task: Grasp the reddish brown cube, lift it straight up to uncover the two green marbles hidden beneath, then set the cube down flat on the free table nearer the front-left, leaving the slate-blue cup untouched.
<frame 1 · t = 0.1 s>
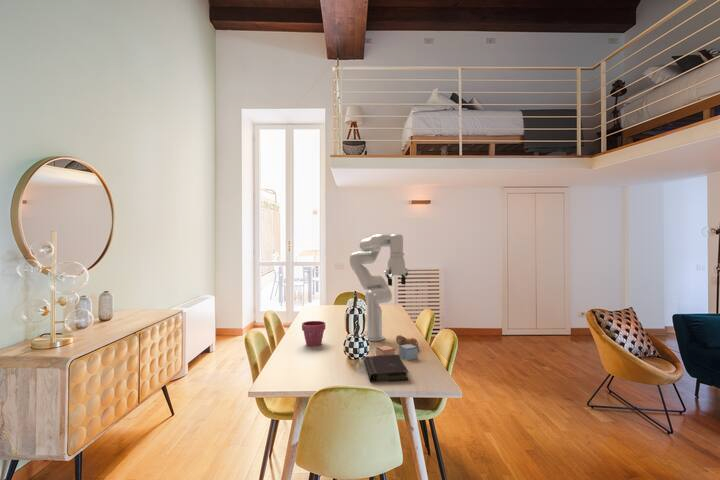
hand: (396, 284, 226), 37 cm above the table, tool pointing down, fingers open, 9 cm apart
cup slate: (408, 357, 208), on the table
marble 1: (382, 359, 206), on the table
lion figurine: (407, 350, 222), on the table
plant pot: (313, 344, 235), on the table
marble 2: (388, 359, 205), on the table
diary: (385, 373, 186), on the table
marble 3: (408, 354, 208), in the cup slate
reddish brown cube: (385, 359, 205), on the table
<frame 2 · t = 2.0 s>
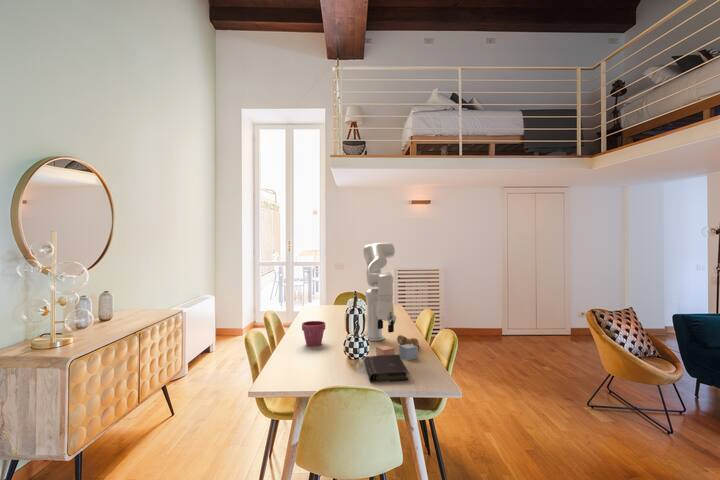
hand: (385, 330, 205), 15 cm above the table, tool pointing down, fingers open, 9 cm apart
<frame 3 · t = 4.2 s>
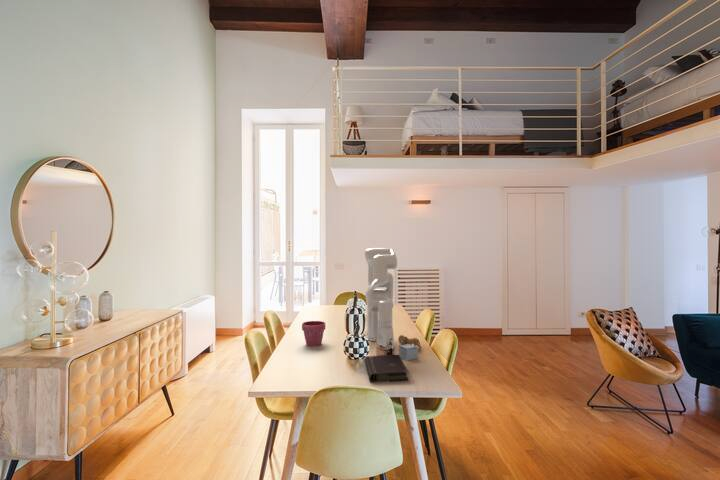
hand: (385, 357, 205), 1 cm above the table, tool pointing down, fingers closed on reddish brown cube, 7 cm apart
reddish brown cube: (385, 359, 205), on the table, touching gripper
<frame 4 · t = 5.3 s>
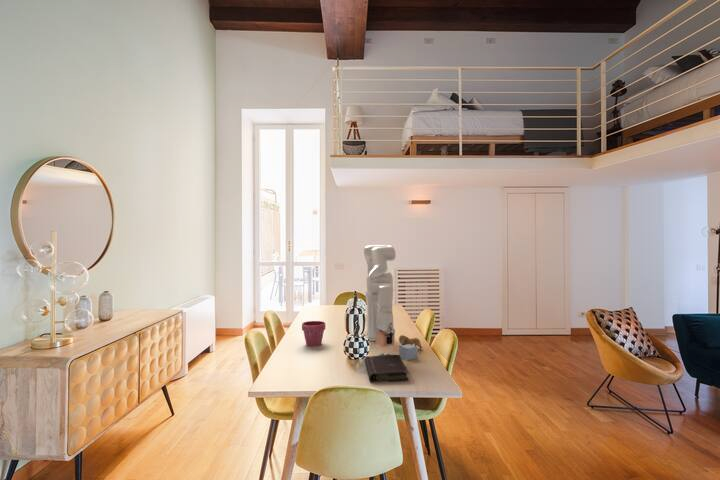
hand: (385, 341, 206), 9 cm above the table, tool pointing down, fingers closed on reddish brown cube, 7 cm apart
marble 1: (382, 358, 206), on the table, tilted 21°
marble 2: (388, 358, 205), on the table, tilted 47°
reddish brown cube: (385, 343, 206), point 8 cm above the table, touching gripper
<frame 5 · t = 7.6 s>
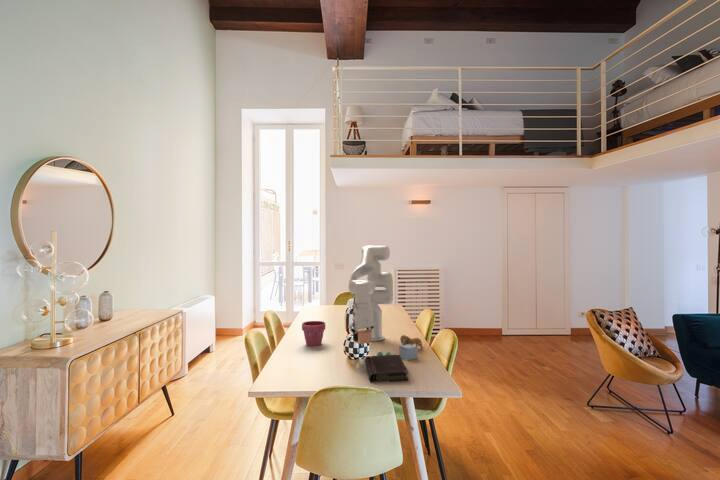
hand: (362, 339, 202), 11 cm above the table, tool pointing down, fingers closed on reddish brown cube, 7 cm apart
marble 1: (380, 351, 209), point 3 cm above the table, tilted 157°
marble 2: (389, 351, 210), point 3 cm above the table, tilted 163°
reddish brown cube: (362, 341, 202), point 10 cm above the table, touching gripper
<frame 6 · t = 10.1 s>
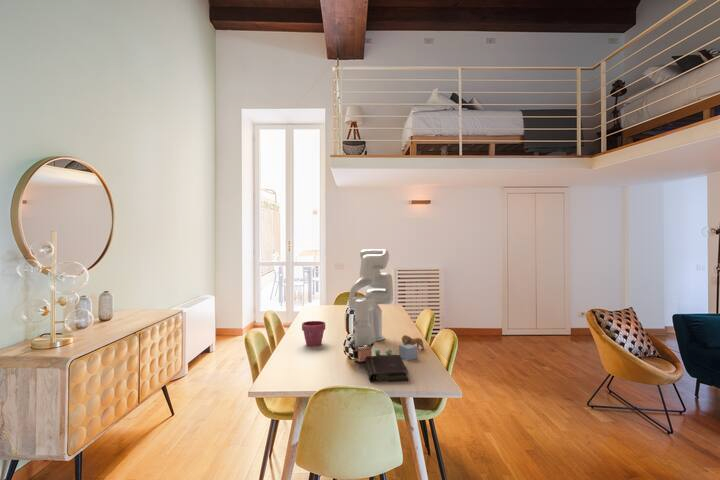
hand: (362, 356, 203), 2 cm above the table, tool pointing down, fingers closed on reddish brown cube, 7 cm apart
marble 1: (376, 352, 215), point 1 cm above the table, tilted 55°
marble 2: (389, 354, 214), on the table, tilted 21°
reddish brown cube: (362, 358, 203), point 1 cm above the table, touching gripper
when the fingers open (2 cm above the table, at t = 10.1 s): reddish brown cube drops 1 cm, on the table.
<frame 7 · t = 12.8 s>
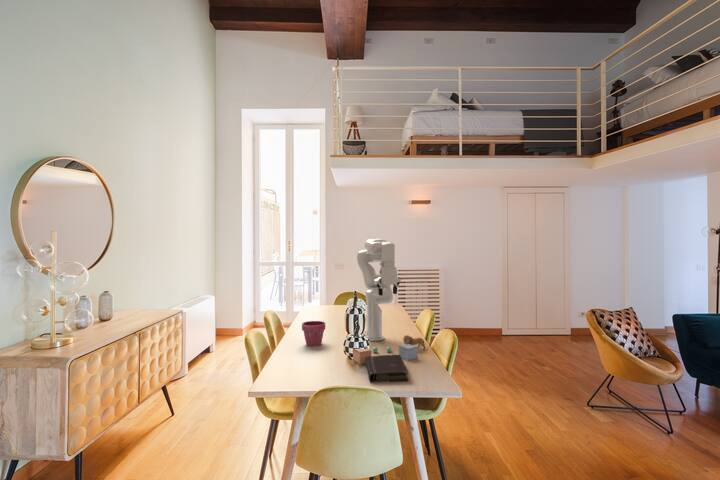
hand: (387, 294, 221), 32 cm above the table, tool pointing down, fingers open, 9 cm apart
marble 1: (376, 349, 216), point 2 cm above the table, tilted 105°
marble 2: (389, 347, 217), point 3 cm above the table, tilted 150°
reddish brown cube: (362, 361, 202), on the table
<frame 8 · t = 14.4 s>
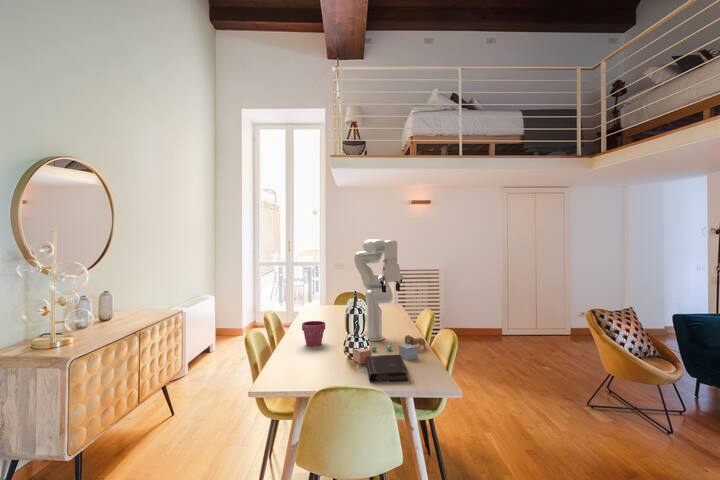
hand: (390, 291, 223), 33 cm above the table, tool pointing down, fingers open, 9 cm apart
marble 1: (373, 345, 220), point 3 cm above the table, tilted 160°
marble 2: (390, 346, 222), point 2 cm above the table, tilted 106°
at the end: reddish brown cube inside the target area (0.0 cm from its centre), on the table; reddish brown cube tilted 0°; the gripper is holding nothing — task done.
